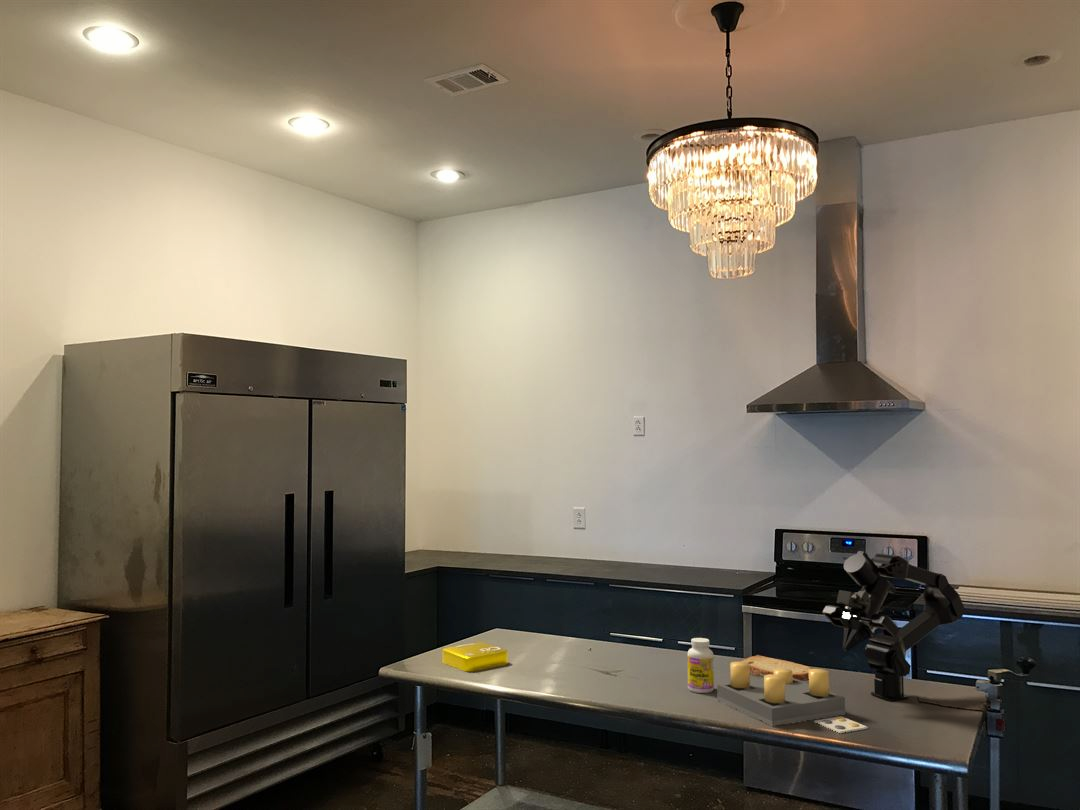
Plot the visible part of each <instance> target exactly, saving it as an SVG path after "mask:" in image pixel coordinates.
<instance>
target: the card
mask: <svg viewBox="0 0 1080 810" xmlns="http://www.w3.org/2000/svg"><path fill="white" fill-rule="evenodd" d="M814 722H815V723H814ZM813 723H814V724H816V723H818V724H820V725H819V726H821V725H822V726H821V727H823V726H824V727H823V728H825V727H826V729H828V728H829V729H828V730H830V729H831V731H832V730H833V732H835V731H836V732H835V733H837V732H838V733H837V734H839V733H840V734H845V732H846V733H850V732H851V731H852V732H857V731H862V730H867V729H868V726H866V725H864V724H861V723H859V722H857V721H854V720H851V719H849V718H846V717H844V716H843V715H841V716H835V717H828V718H822V719H816V720H813ZM818 724H817V725H818Z"/></svg>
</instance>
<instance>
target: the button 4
mask: <svg viewBox="0 0 1080 810" xmlns="http://www.w3.org/2000/svg"><path fill="white" fill-rule="evenodd" d="M808 684H809V693H810V694H811V695H814V696H828V695H830V694H829V692H830V671H828V670H826V669H824V668H811V669H809V680H808Z"/></svg>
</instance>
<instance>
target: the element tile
mask: <svg viewBox="0 0 1080 810" xmlns="http://www.w3.org/2000/svg"><path fill="white" fill-rule="evenodd" d="M441 657H442V659H441V660H442V664H444V665H447V666H449V665H450V667H452V668H454V667H455V668H454V669H457V670H461V671H463V672H466V673H467V672H475V671H481V670H486V669H493V668H497V667H502V666H506V665H508V660H509V652H508V649H505V648H504V647H503V648H502V647H499V646H496V645H494V644H489V643H487V642H484V641H477V642H473V643H472V642H471V643H466V644H465V643H464V644H461V645H454V646H449V647H448V646H447V647H445V648H444V647H443V649H442V655H441ZM496 666H497V667H496Z"/></svg>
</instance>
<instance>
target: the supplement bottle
mask: <svg viewBox="0 0 1080 810" xmlns="http://www.w3.org/2000/svg"><path fill="white" fill-rule="evenodd" d="M690 644H691V648H689V649H688V651H687V689H688V690H689V691H691V692H693V693H699V694H700V693H701V694H707V693H712V692H713V690H714V688H715V685H714V682H715V680H714V677H715V676H714V665H715V664H714V653H713V651H712V649H710V648H709V647H710V640H709V638H705V637H704V638H703V637H693V638H691V641H690Z"/></svg>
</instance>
